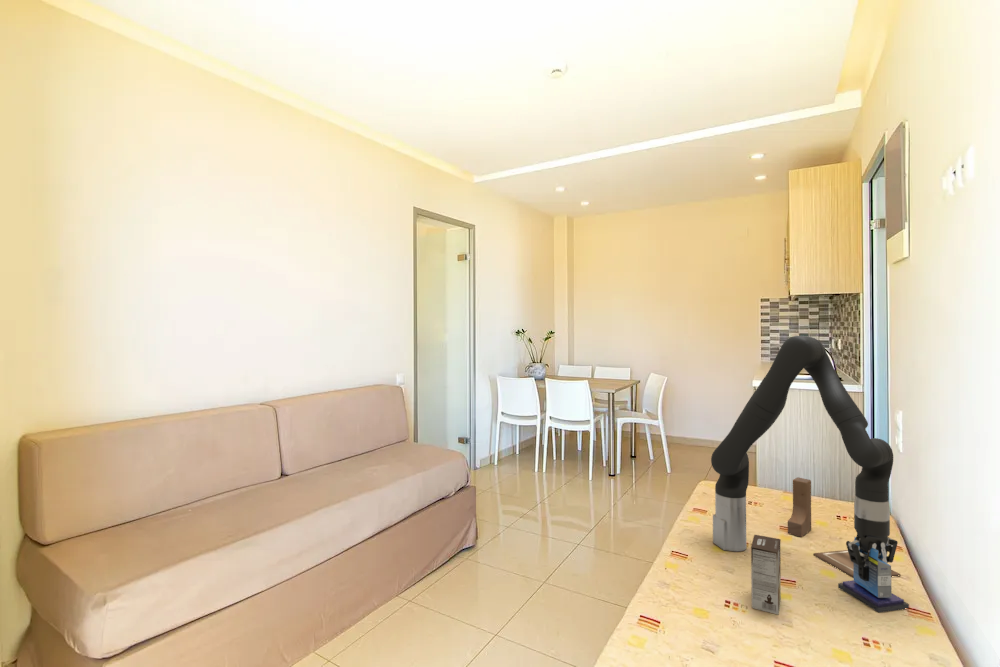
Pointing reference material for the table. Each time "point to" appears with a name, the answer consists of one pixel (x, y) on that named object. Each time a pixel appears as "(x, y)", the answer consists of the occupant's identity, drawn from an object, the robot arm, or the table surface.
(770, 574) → the coffee box
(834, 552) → the walnut board
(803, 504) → the wooden block
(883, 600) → the ink pad
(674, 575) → the table surface
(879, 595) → the label tape box
